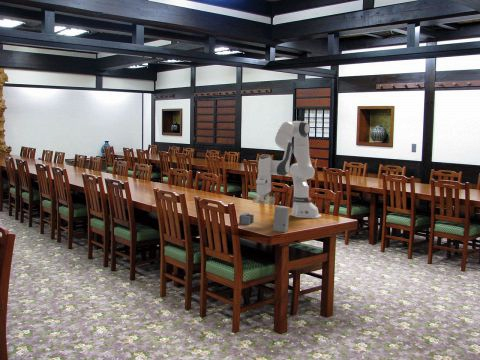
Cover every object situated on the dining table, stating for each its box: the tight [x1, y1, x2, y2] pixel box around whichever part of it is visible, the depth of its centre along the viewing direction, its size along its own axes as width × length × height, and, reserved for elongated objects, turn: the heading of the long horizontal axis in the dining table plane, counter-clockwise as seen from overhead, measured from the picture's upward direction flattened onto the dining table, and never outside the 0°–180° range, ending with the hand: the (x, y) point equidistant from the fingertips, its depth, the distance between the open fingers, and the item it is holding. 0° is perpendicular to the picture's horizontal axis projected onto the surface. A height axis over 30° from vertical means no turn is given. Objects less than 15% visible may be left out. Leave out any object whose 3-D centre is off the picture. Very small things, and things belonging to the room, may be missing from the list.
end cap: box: [238, 212, 255, 225], centre depth 346 cm, size 7×9×6 cm
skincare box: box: [272, 205, 290, 233], centre depth 323 cm, size 8×7×16 cm
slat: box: [252, 195, 276, 205], centre depth 340 cm, size 14×4×4 cm, turn 69°
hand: (263, 200), depth 340 cm, fingers closed on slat, 4 cm apart
